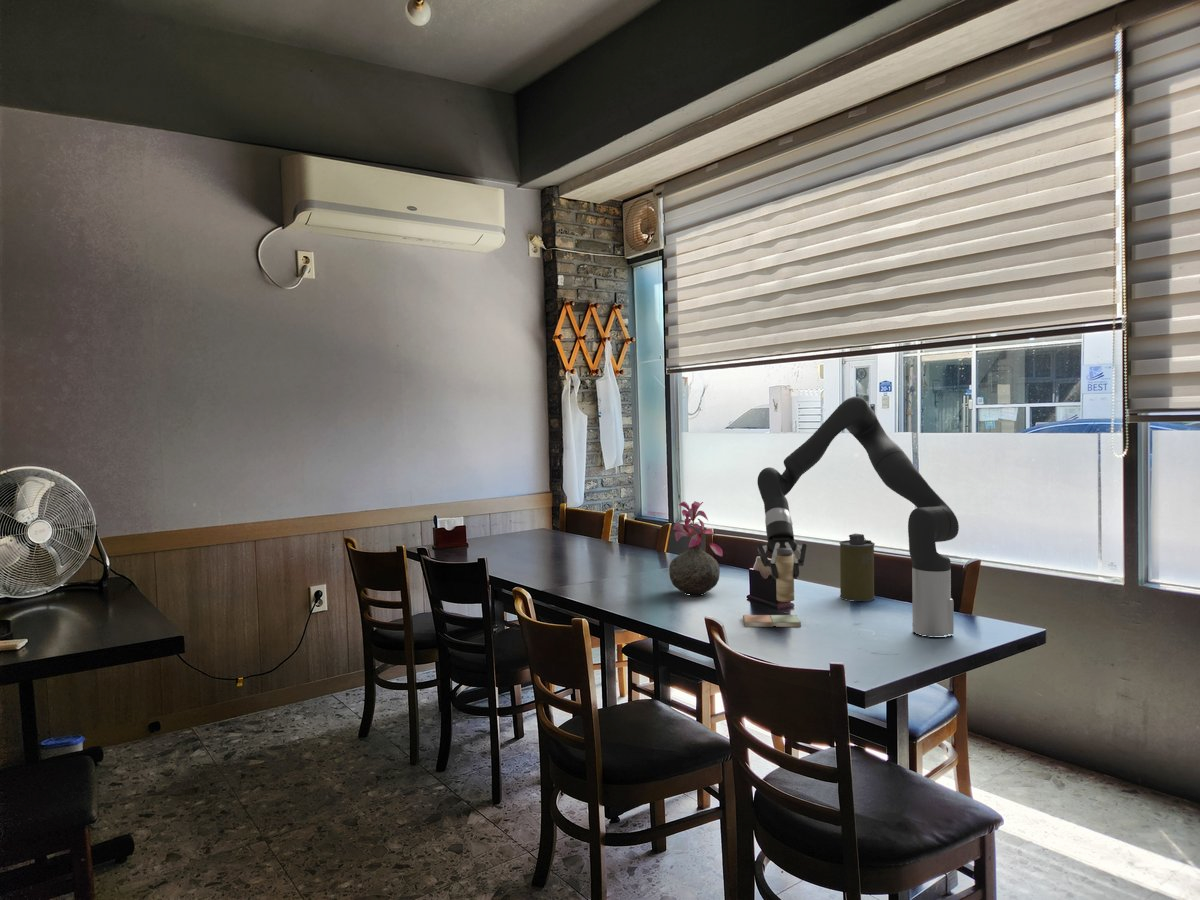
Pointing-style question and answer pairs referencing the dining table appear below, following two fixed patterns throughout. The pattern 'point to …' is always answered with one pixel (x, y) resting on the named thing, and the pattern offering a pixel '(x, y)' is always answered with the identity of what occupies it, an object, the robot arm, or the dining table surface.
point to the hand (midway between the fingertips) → (785, 577)
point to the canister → (857, 568)
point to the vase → (694, 557)
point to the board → (772, 620)
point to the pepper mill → (785, 575)
